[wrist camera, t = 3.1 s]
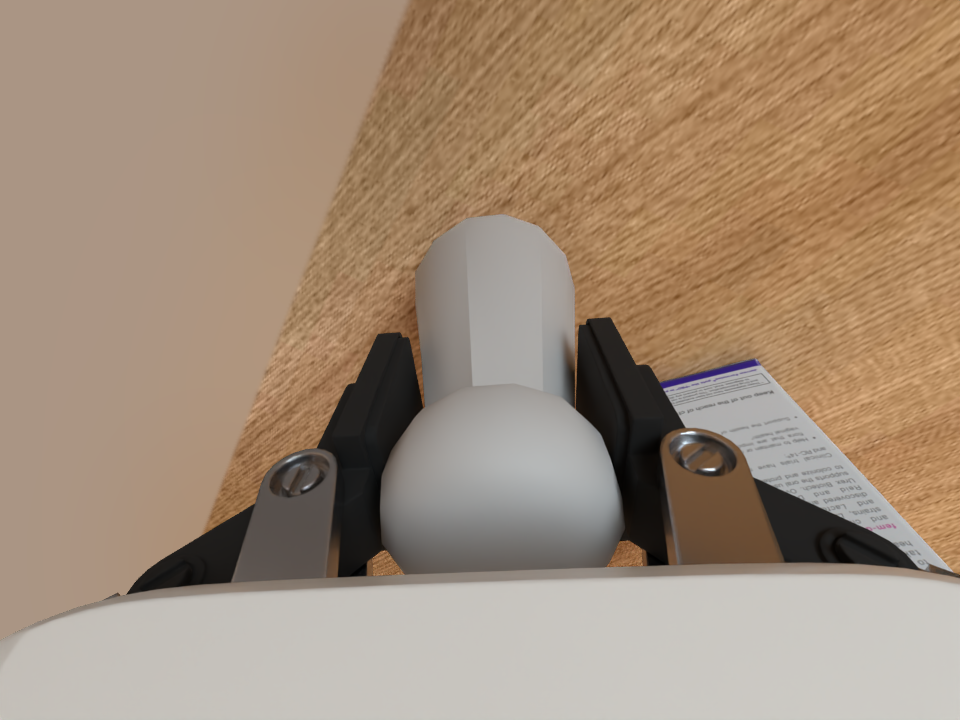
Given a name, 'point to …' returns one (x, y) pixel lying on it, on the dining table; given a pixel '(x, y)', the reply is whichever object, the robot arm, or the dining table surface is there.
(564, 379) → the salt shaker
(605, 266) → the dining table surface
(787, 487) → the supplement box
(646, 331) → the dining table surface
